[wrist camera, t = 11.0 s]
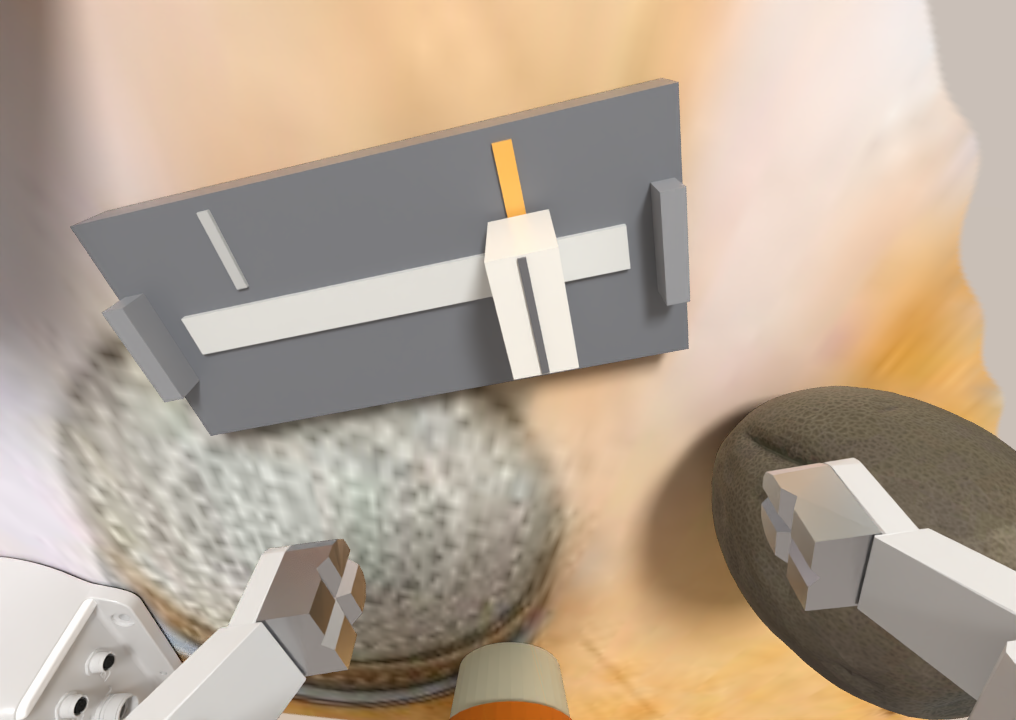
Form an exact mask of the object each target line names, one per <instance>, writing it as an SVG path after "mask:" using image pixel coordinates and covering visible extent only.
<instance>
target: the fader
mask: <svg viewBox="0 0 1016 720" xmlns="http://www.w3.org/2000/svg"><path fill="white" fill-rule="evenodd" d="M484 264H485V268H486V272H487V276H488V280H489V284H490V288H491V291H492V295H493V299H494V303H495V307H496V311H497V315H498V319H499V323H500V327H501V331H502V335H503V339H504V343H505V346H506V350H507V354H508V358H509V362H510V366H511V370H512V374H513V378H514V380H515V379H520V378H526V377H531V376H537V375H542V374H548V373H553V372H559V371H564V370H570V369H575V368H579V364H578V358H577V352H576V346H575V340H574V334H573V329H572V323H571V317H570V311H569V305H568V299H567V294H566V288H565V282H564V276H563V270H562V265H561V259H560V253H559V247H558V243H557V239H556V235H555V231H554V228H553V224H552V220H551V216H550V212H549V209H547V210H542V211H537V212H533V213H528V214H524V215H519V216H514V217H510V218H505V219H501V220H496V221H491V222H488V226H487V237H486V247H485V258H484Z"/></svg>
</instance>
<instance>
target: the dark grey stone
mask: <svg viewBox="0 0 1016 720" xmlns="http://www.w3.org/2000/svg"><path fill="white" fill-rule="evenodd" d="M848 458H855V459H857V460H859V461H860V462H861V463H862V464H863V465H864V466H865V468H866V469H867V470H868V471H869V472H870V473H871V475H872V476H873V477H874V478H875V479H876V480H877V481H878V483H879V484H880V485H881V486H882V487H883V488H884V490H885V491H886V492H887V493H888V494H889V495H890V496H891V498H892V499H893V500H894V501H895V502H896V503H897V505H898V506H899V507H900V508H901V509H902V510H903V511H904V513H905V514H906V515H907V516H908V517H909V518H910V519H911V521H912V522H913V523H914V524H915V525H916V526H917V528H918V529H926V528H929V529H931V530H933V531H935V532H937V533H939V534H941V535H943V536H945V537H947V538H950V539H952V540H954V541H956V542H958V543H960V544H962V545H964V546H966V547H968V548H970V549H972V550H974V551H976V552H978V553H980V554H982V555H984V556H986V557H988V558H990V559H992V560H994V561H996V562H998V563H1000V564H1002V565H1004V566H1006V567H1008V568H1010V569H1012V570H1014V571H1016V451H1015V450H1014V449H1012V448H1011V447H1010V446H1008V445H1007V444H1006V443H1004V442H1003V441H1002V440H1000V439H999V438H997V437H996V436H995V435H993V434H992V433H990V432H988V431H986V430H985V429H983V428H981V427H980V426H978V425H976V424H974V423H973V422H970V421H968V420H966V419H964V418H962V417H959V416H957V415H955V414H953V413H951V412H949V411H946V410H944V409H941V408H939V407H936V406H934V405H931V404H928V403H926V402H923V401H920V400H917V399H914V398H910V397H906V396H902V395H899V394H896V393H892V392H887V391H881V390H874V389H868V388H858V387H848V386H830V387H819V388H812V389H807V390H801V391H796V392H793V393H789V394H786V395H782V396H779V397H777V398H774V399H772V400H770V401H768V402H765V403H764V404H762V405H760V406H759V407H757V408H756V409H754V410H753V411H752V412H750V413H749V414H748V415H747V416H746V417H745V418H744V419H743V420H742V421H741V422H740V423H739V424H738V425H737V426H736V427H735V428H734V429H733V430H732V431H731V432H730V434H729V435H728V436H727V437H726V439H725V440H724V441H723V442H722V444H721V446H720V448H719V450H718V453H717V455H716V459H715V463H714V468H713V476H712V512H713V519H714V526H715V530H716V535H717V539H718V541H719V544H720V548H721V550H722V553H723V555H724V558H725V561H726V563H727V566H728V568H729V570H730V573H731V575H732V576H733V578H734V580H735V582H736V584H737V586H738V587H739V589H740V591H741V592H742V594H743V596H744V597H745V599H746V600H747V602H748V603H749V605H750V606H751V608H752V609H753V610H754V612H755V613H756V614H757V615H758V617H759V618H760V619H761V620H762V622H763V623H764V624H765V625H766V626H767V627H768V628H769V629H770V630H771V631H772V632H773V633H774V634H775V635H776V636H777V637H778V638H779V639H781V640H782V641H783V642H784V643H785V644H786V645H787V646H788V647H789V648H790V649H792V650H793V651H794V652H795V653H796V654H797V655H798V656H799V657H800V658H801V659H802V660H803V661H804V662H805V663H807V664H808V665H809V666H810V667H812V668H813V669H814V670H815V671H817V672H818V673H819V674H821V675H822V676H823V677H824V678H826V679H827V680H829V681H830V682H831V683H833V684H834V685H836V686H837V687H839V688H840V689H842V690H844V691H846V692H848V693H850V694H851V695H853V696H855V697H858V698H860V699H862V700H864V701H867V702H869V703H871V704H874V705H876V706H879V707H881V708H884V709H886V710H889V711H892V712H895V713H898V714H902V715H905V716H908V717H915V718H922V719H929V720H942V719H956V718H964V717H968V716H969V715H970V713H971V711H972V710H973V708H974V706H975V704H976V702H977V700H976V699H974V698H973V697H972V696H970V695H969V694H968V693H967V692H965V691H964V690H963V689H961V688H960V687H959V686H957V685H956V684H955V683H954V682H952V681H951V680H950V679H948V678H947V677H946V676H944V675H943V674H942V673H941V672H939V671H938V670H937V669H935V668H934V667H933V666H931V665H930V664H929V663H928V662H926V661H925V660H924V659H922V658H921V657H920V656H918V655H917V654H916V653H915V652H913V651H912V650H911V649H909V648H908V647H907V646H905V645H904V644H903V643H902V642H900V641H899V640H898V639H896V638H895V637H894V636H892V635H891V634H890V633H889V632H887V631H886V630H885V629H883V628H882V627H881V626H879V625H878V624H877V623H876V622H874V621H873V620H872V619H870V618H869V617H868V616H866V615H865V614H864V613H863V612H861V611H860V610H859V609H857V607H858V606H850V607H840V608H830V609H820V610H810V611H805V610H804V608H803V606H802V605H801V603H800V601H799V599H798V597H797V595H796V593H795V592H794V590H793V588H792V586H791V584H790V582H789V581H788V579H787V577H786V576H787V566H788V563H787V562H785V561H783V560H782V559H780V558H779V557H777V556H776V555H775V554H774V552H773V550H772V548H771V546H770V544H769V542H768V540H767V537H766V535H765V532H764V528H763V523H762V518H761V504H762V503H763V502H764V501H765V499H766V498H767V497H768V496H767V494H766V492H765V490H764V489H763V477H764V475H765V473H766V472H768V471H774V470H780V469H786V468H792V467H798V466H804V465H810V464H816V463H824V462H829V461H836V460H842V459H848Z"/></svg>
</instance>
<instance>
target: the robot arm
mask: <svg viewBox="0 0 1016 720" xmlns="http://www.w3.org/2000/svg"><path fill="white" fill-rule="evenodd" d="M763 489H764V490H765V492H766V494H767V496H768V497H767V498H766V499H765V501H764V502H763V503H762V504H761V518H762V523H763V528H764V532H765V535H766V537H767V540H768V542H769V544H770V546H771V548H772V550H773V552H774V554H775V555H776V556H777V557H779V558H780V559H782V560H783V561H785V562H787V563H788V566H787V576H786V577H787V579H788V581H789V582H790V584H791V586H792V588H793V590H794V592H795V593H796V595H797V597H798V599H799V601H800V603H801V605H802V606H803V608H804V610H805V611H810V610H820V609H830V608H840V607H850V606H858V607H857V609H859V610H860V611H861V612H863V613H864V614H865V615H866V616H868V617H869V618H870V619H872V620H873V621H874V622H876V623H877V624H878V625H879V626H881V627H882V628H883V629H885V630H886V631H887V632H889V633H890V634H891V635H892V636H894V637H895V638H896V639H898V640H899V641H900V642H902V643H903V644H904V645H905V646H907V647H908V648H909V649H911V650H912V651H913V652H915V653H916V654H917V655H918V656H920V657H921V658H922V659H924V660H925V661H926V662H928V663H929V664H930V665H931V666H933V667H934V668H935V669H937V670H938V671H939V672H941V673H942V674H943V675H944V676H946V677H947V678H948V679H950V680H951V681H952V682H954V683H955V684H956V685H957V686H959V687H960V688H961V689H963V690H964V691H965V692H967V693H968V694H969V695H970V696H972V697H973V698H974V699H976V700H977V702H976V704H975V706H974V708H973V710H972V711H971V713H970V715H969V717H968V719H967V720H1016V571H1014V570H1012V569H1010V568H1008V567H1006V566H1004V565H1002V564H1000V563H998V562H996V561H994V560H992V559H990V558H988V557H986V556H984V555H982V554H980V553H978V552H976V551H974V550H972V549H970V548H968V547H966V546H964V545H962V544H960V543H958V542H956V541H954V540H952V539H950V538H947V537H945V536H943V535H941V534H939V533H937V532H935V531H933V530H931V529H929V528H926V529H918V528H917V526H916V525H915V524H914V523H913V522H912V521H911V519H910V518H909V517H908V516H907V515H906V514H905V513H904V511H903V510H902V509H901V508H900V507H899V506H898V505H897V503H896V502H895V501H894V500H893V499H892V498H891V496H890V495H889V494H888V493H887V492H886V491H885V490H884V488H883V487H882V486H881V485H880V484H879V483H878V481H877V480H876V479H875V478H874V477H873V476H872V475H871V473H870V472H869V471H868V470H867V469H866V468H865V466H864V465H863V464H862V463H861V462H860V461H859V460H857V459H855V458H848V459H842V460H836V461H829V462H824V463H816V464H810V465H804V466H798V467H792V468H786V469H780V470H774V471H768V472H766V473H765V475H764V477H763ZM349 553H350V549H349V547H348V545H347V544H346V542H345V541H344V539H335V540H328V541H320V542H312V543H304V544H296V545H291V546H284V547H276V548H269V549H267V550H266V551H265V552H264V553H263V554H262V555H261V557H260V559H259V561H258V563H257V565H256V567H255V570H254V572H253V574H252V576H251V578H250V580H249V582H248V584H247V586H246V588H245V591H244V593H243V595H242V597H241V599H240V601H239V603H238V605H237V607H236V610H235V612H234V614H233V616H232V618H231V620H230V622H229V624H228V626H227V627H222V628H219V629H218V630H217V631H216V632H215V633H214V634H213V635H212V636H211V637H210V638H209V639H208V640H207V641H206V642H205V643H204V644H203V645H201V646H200V647H199V648H198V649H197V650H196V651H195V652H194V653H193V654H192V655H191V656H190V657H189V658H188V659H187V660H186V661H185V662H184V663H183V664H182V662H181V661H180V659H179V658H178V656H177V654H176V653H175V651H174V650H173V648H172V647H171V645H170V644H169V642H168V641H167V639H166V638H165V636H164V635H163V633H162V631H161V630H160V628H159V627H158V625H157V624H156V622H155V621H154V619H153V618H152V616H151V615H150V613H149V611H148V610H147V608H146V607H145V605H144V604H143V602H142V601H141V599H140V598H139V597H138V596H136V595H135V594H133V593H131V592H128V591H125V590H121V589H117V588H113V587H107V586H102V585H97V584H92V583H89V582H86V581H84V580H81V579H78V578H76V577H74V576H71V575H69V574H66V573H64V572H61V571H58V570H56V569H53V568H50V567H47V566H43V565H40V564H36V563H32V562H28V561H23V560H18V559H12V558H5V557H0V720H277V719H278V718H279V716H280V715H281V714H282V712H283V711H284V709H285V708H286V707H287V705H288V704H289V702H290V701H291V700H292V698H293V697H294V696H295V694H296V693H297V691H298V690H299V689H300V687H301V686H302V684H303V683H304V682H305V680H306V677H305V676H311V675H318V674H324V673H330V672H336V671H343V670H348V669H349V665H350V661H351V657H352V653H353V649H354V645H355V641H356V637H357V634H356V632H355V630H354V628H353V626H352V624H353V623H354V622H355V621H356V620H357V618H358V617H359V616H360V615H361V614H362V612H363V608H364V603H365V599H366V583H365V579H364V575H363V572H362V570H361V568H360V566H359V564H357V563H355V562H353V561H352V560H350V559H348V556H349Z"/></svg>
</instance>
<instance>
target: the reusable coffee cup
mask: <svg viewBox="0 0 1016 720" xmlns="http://www.w3.org/2000/svg"><path fill="white" fill-rule="evenodd" d="M449 720H572V719H571V718H570V714H569V710H568V705H567V700H566V695H565V690H564V686H563V681H562V676H561V671H560V666H559V663H558V661H557V659H556V658H555V657H554V656H553V655H552V654H551V653H549V652H548V651H546V650H544V649H542V648H540V647H537V646H534V645H531V644H525V643H517V642H503V643H495V644H490V645H486V646H483V647H480V648H478V649H476V650H474V651H472V652H471V653H469V654H468V655H467V656H466V657H465V658H464V659H463V660H462V662H461V664H460V668H459V673H458V678H457V683H456V689H455V694H454V699H453V704H452V709H451V714H450V719H449Z"/></svg>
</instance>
